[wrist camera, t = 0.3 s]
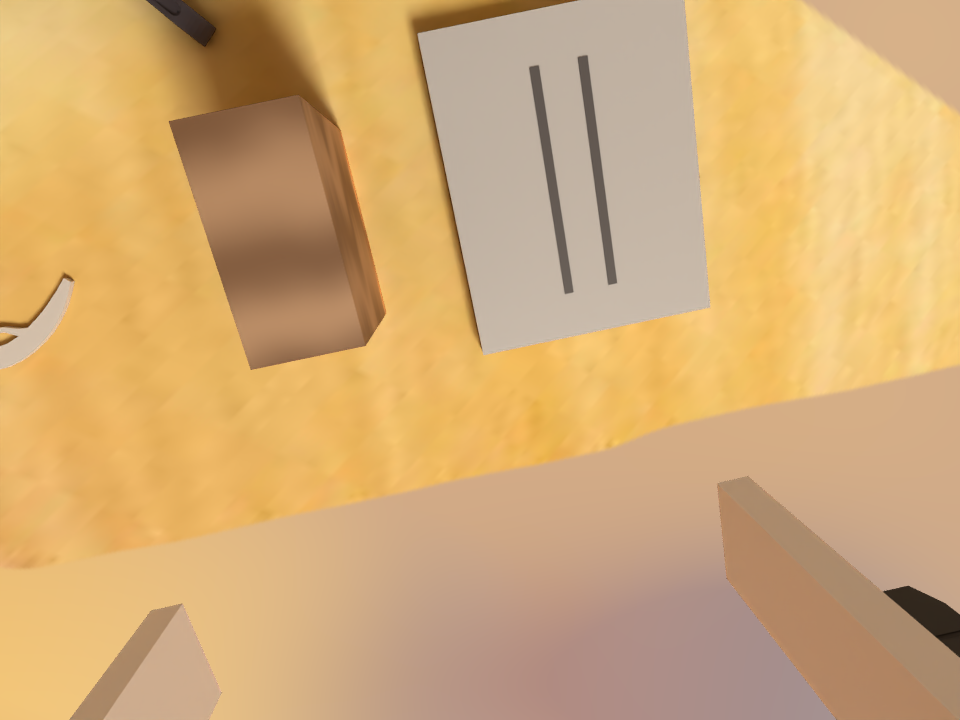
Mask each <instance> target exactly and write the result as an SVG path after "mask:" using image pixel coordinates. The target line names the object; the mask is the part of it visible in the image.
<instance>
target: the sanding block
mask: <svg viewBox="0 0 960 720" xmlns="http://www.w3.org/2000/svg"><path fill="white" fill-rule="evenodd" d="M169 124H170V127H171V130H172V133H173V136H174V139H175V142H176V145H177V148H178V151H179V154H180V157H181V160H182V163H183V166H184V169H185V172H186V175H187V178H188V181H189V184H190V187H191V190H192V193H193V196H194V199H195V202H196V205H197V208H198V211H199V214H200V217H201V220H202V223H203V226H204V229H205V232H206V235H207V239H208V242H209V245H210V248H211V251H212V254H213V257H214V260H215V263H216V266H217V269H218V272H219V275H220V278H221V281H222V284H223V287H224V290H225V293H226V296H227V299H228V302H229V305H230V308H231V311H232V314H233V317H234V320H235V323H236V326H237V329H238V332H239V335H240V338H241V341H242V344H243V347H244V350H245V353H246V356H247V359H248V362H249V366H250V369H251V370H253V369H257V368H262V367H267V366H272V365H276V364H281V363H286V362H291V361H295V360H300V359H305V358H310V357H314V356H319V355H324V354H329V353H334V352H338V351H343V350H348V349H353V348H357V347H362V346H366V344H367V343H368V341H369V339H370V338H371V336H372V335H373V333H374V332H375V330H376V329H377V327H378V325H379V324H380V322H381V321H382V319H383V318H384V316H385V314H386V309H385V305H384V301H383V297H382V293H381V289H380V285H379V281H378V277H377V273H376V269H375V265H374V261H373V257H372V253H371V249H370V245H369V242H368V238H367V234H366V230H365V226H364V222H363V218H362V214H361V210H360V206H359V202H358V198H357V194H356V190H355V186H354V182H353V178H352V174H351V170H350V166H349V162H348V158H347V154H346V150H345V146H344V142H343V138H342V134H341V130H340V129H338V128H337V127H336V126H335V125H334V124H333V123H331V122H330V121H329V120H328V119H327V118H325V117H324V116H323V115H322V114H321V113H320V112H318V111H317V110H316V109H315V108H314V107H312V106H311V105H310V104H309V103H308V102H307V101H305V100H304V99H303V98H302V97H301V96H299V95H295V96H290V97H285V98H280V99H275V100H270V101H265V102H261V103H256V104H251V105H246V106H241V107H236V108H231V109H227V110H222V111H217V112H212V113H207V114H202V115H197V116H192V117H188V118H183V119H178V120H173V121H169Z"/></svg>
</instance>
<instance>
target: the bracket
mask: <svg viewBox="0 0 960 720" xmlns="http://www.w3.org/2000/svg"><path fill="white" fill-rule="evenodd" d="M147 1H148V2H149V3H150V4H151V5H153V6H154V7H155V8H156V9H157V10H159V11H160V12H161V13H162V14H164V15H165V16H166V17H167V18H168V19H170V20H171V21H172V22H173V23H175V24H176V25H177V26H178V27H180V28H181V29H182V30H183V31H185V32H186V33H187V34H189V35H190V36H191V37H193V38H194V39H195V40H196V41H198V42H199V43H200V44H202V45H203V46H206V44H207V42H208V41H209V39H210V38H211V36H212V34H213V33H214V31H215V30H216V28H215V27H214V26H213V25H211V24H210V23H209V22H208V21H206V20H205V19H204V18H203V17H202V16H200V15H199V14H198V13H197V12H195V11H194V10H193V9H192V8H191V7H189V6H188V5H187V4H186V3H184V2H183V1H182V0H147Z"/></svg>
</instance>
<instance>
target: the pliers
mask: <svg viewBox="0 0 960 720" xmlns="http://www.w3.org/2000/svg"><path fill="white" fill-rule="evenodd" d="M74 282H75V281H73V280H71V279H69V278H63V280H62V282H61V284H60V285H59V287H58V289H57V291H56V292H55V294H54V295H53V297H52V298H51V300H50V301H49V303H48V304H47V306H46V307H45V309H44V310H43V311H42V313H41V314H40V315H39V316H38V317H37V318H36V320H35V321H34V322H33V323H32V324H31V325H30V326H29V327H26V328H20V327H11V326H6V327H0V333H3V332H5V333H9V334H12V335H16V336H18V337H17V338H15V339H14V340H12V341H11V342H9V343H8V344H5V345H2V346H0V369H3V368H7V367H10V366H13V365H15V364H17V363H19V362H21V361H23V360H24V359H26V358H27V357H29V356H30V355H31V354H33V353H34V352H35V351H37V350H38V349H39V348H40V347H41V346H42V345H43V344H44V343H45V342H46V341H47V340H48V339H49V337H50V336H51V335H52V334H53V333H54V332H55V330H56V328H57V327H58V325H59V324H60V322H61V320H62V318H63V316H64V314H65V312H66V310H67V308H68V305H69V302H70V298H71V295H72V291H73V287H74Z"/></svg>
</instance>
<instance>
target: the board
mask: <svg viewBox="0 0 960 720" xmlns="http://www.w3.org/2000/svg"><path fill="white" fill-rule="evenodd" d="M417 34H418V41H419V46H420V51H421V56H422V61H423V65H424V70H425V75H426V80H427V85H428V90H429V94H430V99H431V104H432V109H433V114H434V119H435V124H436V128H437V133H438V138H439V143H440V148H441V153H442V158H443V162H444V167H445V172H446V177H447V182H448V187H449V192H450V196H451V201H452V206H453V211H454V216H455V221H456V226H457V230H458V235H459V240H460V245H461V250H462V255H463V259H464V264H465V269H466V274H467V279H468V284H469V289H470V293H471V298H472V303H473V308H474V313H475V318H476V323H477V327H478V332H479V337H480V342H481V347H482V351H483V355H487V354H491V353H496V352H501V351H506V350H510V349H515V348H520V347H525V346H529V345H534V344H539V343H544V342H548V341H553V340H558V339H563V338H567V337H572V336H577V335H582V334H586V333H591V332H596V331H601V330H605V329H610V328H615V327H620V326H624V325H629V324H634V323H639V322H643V321H648V320H653V319H658V318H662V317H667V316H672V315H677V314H681V313H686V312H691V311H696V310H700V309H705V308H710V298H709V287H708V275H707V263H706V251H705V239H704V227H703V216H702V204H701V192H700V180H699V168H698V156H697V144H696V133H695V121H694V109H693V97H692V85H691V73H690V61H689V50H688V38H687V26H686V14H685V2H684V0H578V1H573V2H568V3H563V4H558V5H553V6H548V7H543V8H539V9H534V10H529V11H524V12H519V13H514V14H509V15H505V16H500V17H495V18H490V19H485V20H480V21H475V22H470V23H466V24H461V25H456V26H451V27H446V28H441V29H436V30H431V31H427V32H422V33H417Z"/></svg>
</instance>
